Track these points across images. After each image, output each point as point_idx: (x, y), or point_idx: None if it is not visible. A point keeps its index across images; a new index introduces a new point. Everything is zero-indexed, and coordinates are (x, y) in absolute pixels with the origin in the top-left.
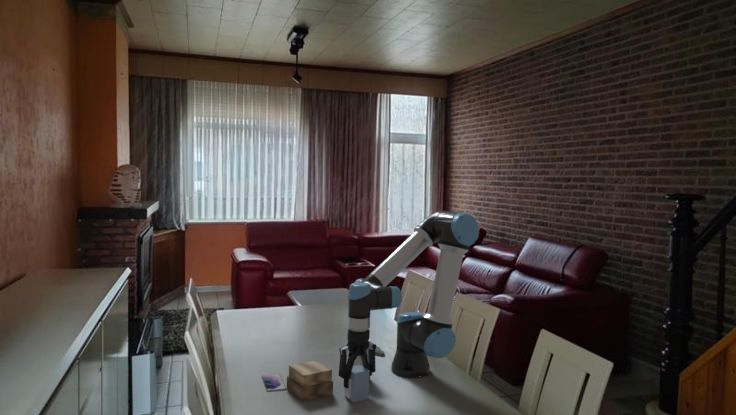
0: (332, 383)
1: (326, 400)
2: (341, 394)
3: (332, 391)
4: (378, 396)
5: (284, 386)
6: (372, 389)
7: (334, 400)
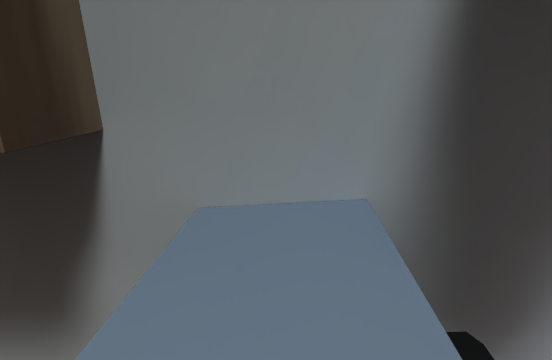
0: (14, 147)
1: (11, 224)
2: (184, 162)
3: (81, 133)
4: (483, 338)
5: None
6: (537, 179)
7: (78, 253)
